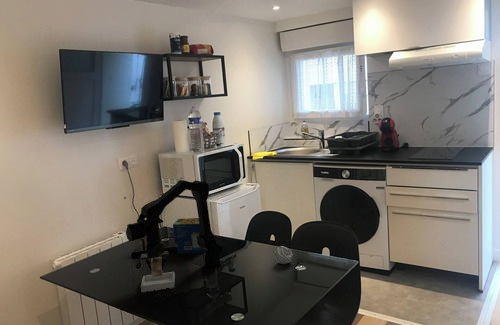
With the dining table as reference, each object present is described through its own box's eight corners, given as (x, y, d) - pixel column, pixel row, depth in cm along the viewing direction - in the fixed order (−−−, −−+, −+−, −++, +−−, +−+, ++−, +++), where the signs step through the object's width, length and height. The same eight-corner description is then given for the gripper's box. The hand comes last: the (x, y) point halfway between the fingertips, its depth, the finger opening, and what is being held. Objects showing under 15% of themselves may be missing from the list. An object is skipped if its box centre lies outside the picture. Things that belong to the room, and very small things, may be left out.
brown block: (162, 270, 181) (161, 255, 180) (162, 275, 175) (160, 260, 174) (153, 271, 181) (151, 256, 180) (152, 277, 175) (150, 261, 174)
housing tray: (174, 277, 185) (174, 271, 185) (174, 287, 174) (173, 281, 174) (143, 281, 183) (143, 275, 183) (141, 292, 172) (140, 286, 172)
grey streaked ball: (286, 267, 185) (285, 250, 184) (272, 265, 189) (270, 248, 188) (296, 261, 191) (294, 245, 190) (281, 259, 196) (280, 242, 195)
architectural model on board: (143, 254, 220) (141, 236, 219) (139, 253, 221) (137, 235, 220) (158, 247, 230) (156, 229, 228) (154, 246, 231) (152, 229, 230)
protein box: (181, 247, 225) (178, 218, 223) (209, 245, 223) (206, 217, 221) (175, 254, 215) (171, 224, 213) (204, 253, 213) (201, 223, 211)
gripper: (127, 244, 167) (132, 281, 169) (175, 237, 169) (179, 275, 171) (130, 235, 178) (135, 271, 180) (175, 230, 180) (179, 265, 182)
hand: (157, 270), depth 178 cm, fingers closed on brown block, 4 cm apart
